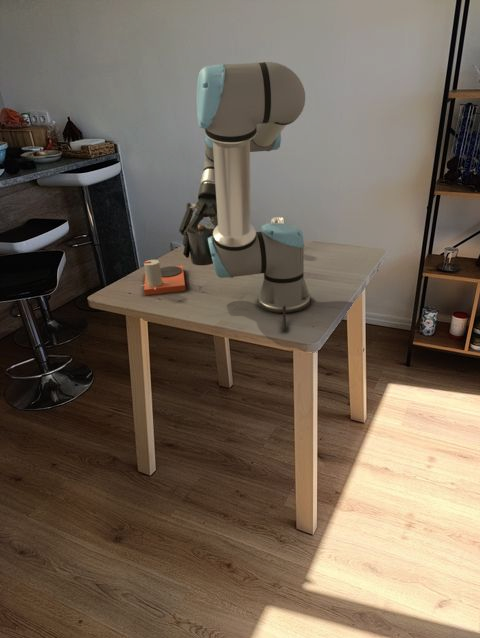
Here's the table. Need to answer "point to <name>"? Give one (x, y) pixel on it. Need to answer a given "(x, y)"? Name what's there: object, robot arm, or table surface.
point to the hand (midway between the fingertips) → (199, 256)
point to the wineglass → (277, 220)
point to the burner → (170, 271)
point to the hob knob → (153, 273)
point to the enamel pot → (200, 244)
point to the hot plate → (167, 284)
